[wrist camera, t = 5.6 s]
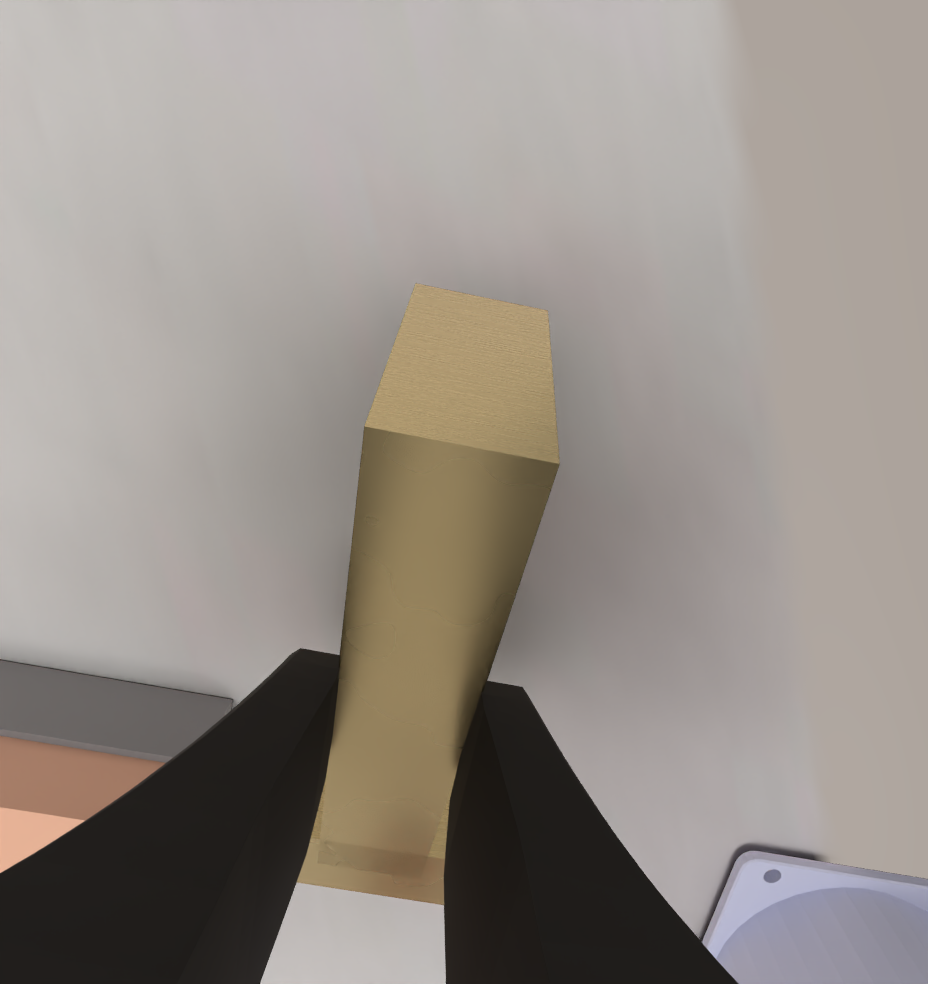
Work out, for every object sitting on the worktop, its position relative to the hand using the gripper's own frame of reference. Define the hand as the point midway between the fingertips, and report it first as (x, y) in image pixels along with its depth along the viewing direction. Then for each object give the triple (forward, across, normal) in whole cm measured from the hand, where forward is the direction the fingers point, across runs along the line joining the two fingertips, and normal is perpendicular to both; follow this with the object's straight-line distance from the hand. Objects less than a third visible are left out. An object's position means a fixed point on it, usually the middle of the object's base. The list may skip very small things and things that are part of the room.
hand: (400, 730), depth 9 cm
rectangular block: (+3, 0, -1) cm, 3 cm away
